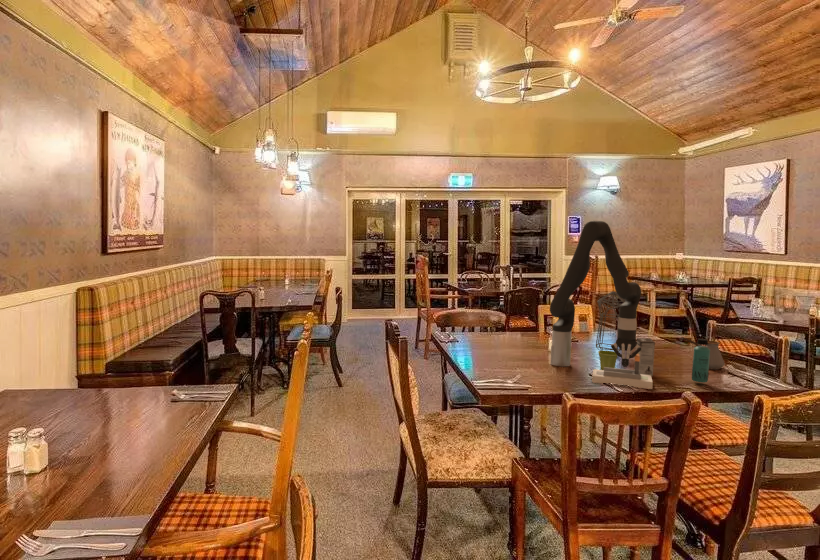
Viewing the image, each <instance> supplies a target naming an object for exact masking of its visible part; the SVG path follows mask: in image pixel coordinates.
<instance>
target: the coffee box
mask: <svg viewBox="0 0 820 560" xmlns="http://www.w3.org/2000/svg"><path fill="white" fill-rule="evenodd" d="M636 342H637V345H638V346H640V347H641V351H640V352H639V353H638V354H639V356H640V362H639V371H640V374H644V375H651V377H653V376H654V362H655V345H656V343H655V341H654V340H652V338H650V337H649V338H647V337H646V338H645V337H636Z"/></svg>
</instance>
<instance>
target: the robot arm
mask: <svg viewBox="0 0 820 560" xmlns="http://www.w3.org/2000/svg"><path fill="white" fill-rule="evenodd" d="M595 242H598V243H600V245H601V246H602V248H603V251H604V257H605V259H604V260H605V266H606V268H607V270H608V272H609V274H610V276H611V277H612V281H613V286H614V290H615V292H616V293H617V294H618V295H619V297H621V298H623V299H625V300H624V301H625V302H624V303H623V302H622V303H623V304H622V303H621V304H622V305H620V307H618V309H619V311H618V315H619V316H618V317H619V320H618V319H617V330H618V333H617V335H616V337H617V338H616V340H615V342H614V343H611V345H610V348H611V349H613V350H612V351H613V352H615V353H616V354H617V356H618V357H617V358H621V366H622V367H623V368H627V367H629V364H630V359H635V356H636V355H637V354H638V353H639V352H640V351H641V347H640V346H638V345H637V329H638V328H637V325H638V324H637V310H638V306H639V302H640V299H641V297H642V288H641V286H640V285H639V283H637V282H633V281H632V282H628V279H627V278H628V277H629V272H630V271H629V270H628V268H627V267H626V264H625V263H624V260H623V259H622V257H621V255H620V253H619V250H618V248H617V244H616V242H615V239H614V236H613V233H612V229H611V227H610V226H609V224H608V223H607V222H606V221H602V220H589V221H588V222H586V223H585V224H584V225H583V227H582V230H581V233H580V237H579V240H578V244H577V246H576V249H575V251H574V253H573V256H572V259H571V261H570V263H569V265H568V266H567V269H566V272H565V274H564V277H563V279H562V282H560V283H561V284H560V286H559V288H558V290H557V291H556V294H555V295H554V297H553V298H552V301H551V303H550V305H549V312H550V314H551V316H552V317H554V318H558V319H557V321H556V322H555V323H553V324H552V332H551V346H550V365H551V366H552V365H553V366H556V367H570V366H571V354H572V335H573V334H572V331H573V327H574V322H575V315H576V307H575V303H574V301H573V300H572V299H570V297H572V295H573V293H574V292H576V290H577V289H578V288H579V287H580V286H581V285H582V284H583V283H584V281H585V280H586V279H587V276H588V273H589V272H590V269H591V268H590V267H591V261H590V259H591V257H590V254H591V250H592V247H593V246H594V244H595ZM616 345H618V349H620V351H621V353H620V351H619V350H617V349H616V348H617V346H616ZM634 348H635V350H634V351H633V349H634ZM631 351H633V352H632V353H631Z"/></svg>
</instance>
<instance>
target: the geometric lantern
mask: <svg viewBox="0 0 820 560" xmlns="http://www.w3.org/2000/svg"><path fill="white" fill-rule="evenodd" d="M609 296H610V297H609ZM608 297H609V298H608ZM606 298H608V299H606ZM618 299H619V300H618ZM596 302H597V304H598V305H597V306H598V309H599V322H598V329H597V335H596V342H595V348H596V349H597V350H598V351H614V350H613V349H612V348H611V347H610V348H609V347H603V345H605V346H611V344H612V343H611V344H610V343H605V342H604V335H605V334H604V333H605V326H606V319H607V318H610V316H611V318H612V319H613V318H615V319H617V321H618V320H619V314H618V313H617V311H616V309H617V310H618V312H619V308H620V305H622V304H623V303H624V302H625V299H623V298H621V297H619V295H618V294H617V292H616V291H610V292H608V293H607V294H606V295H603V296H601V297H600V298H598V300H597V301H596ZM606 304H607V305H606ZM602 305H603V306H604V307H606V309H605V311H603V308H602ZM609 310H613V311H614V312H615V313H614V314H613V313H608V312H609ZM601 311H602V313H601ZM608 315H610V316H608ZM603 319H604V321H603ZM617 333H618V329H617ZM603 342H604V343H603ZM616 346H617V348H616V349H617V350H618V351H619V352H621V350H620V348H619V347H618V345H616Z"/></svg>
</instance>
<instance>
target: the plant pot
mask: <svg viewBox="0 0 820 560" xmlns="http://www.w3.org/2000/svg"><path fill="white" fill-rule="evenodd" d="M597 353H598V356H599V365H600V370H604V367H608V368H616V363H617V359H618V358H619V357H618V356H617V354H616V353H615V352H614V350H603V351H600V350H598V352H597Z"/></svg>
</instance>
